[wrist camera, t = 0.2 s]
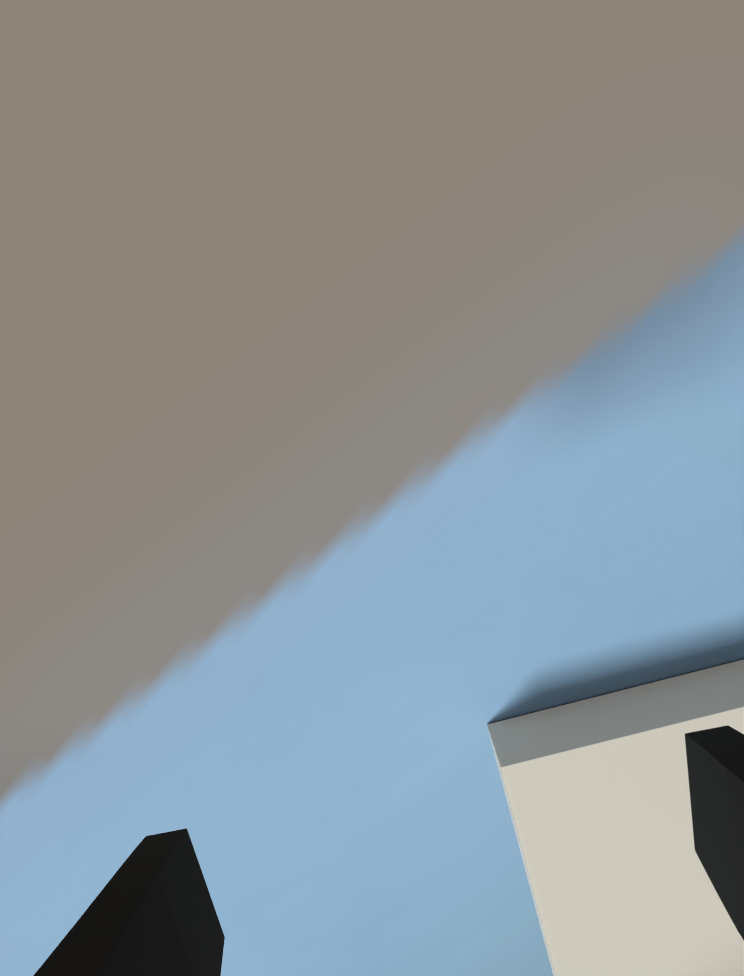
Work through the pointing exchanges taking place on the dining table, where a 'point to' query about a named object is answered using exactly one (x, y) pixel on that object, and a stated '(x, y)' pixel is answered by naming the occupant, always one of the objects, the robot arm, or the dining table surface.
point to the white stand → (621, 827)
